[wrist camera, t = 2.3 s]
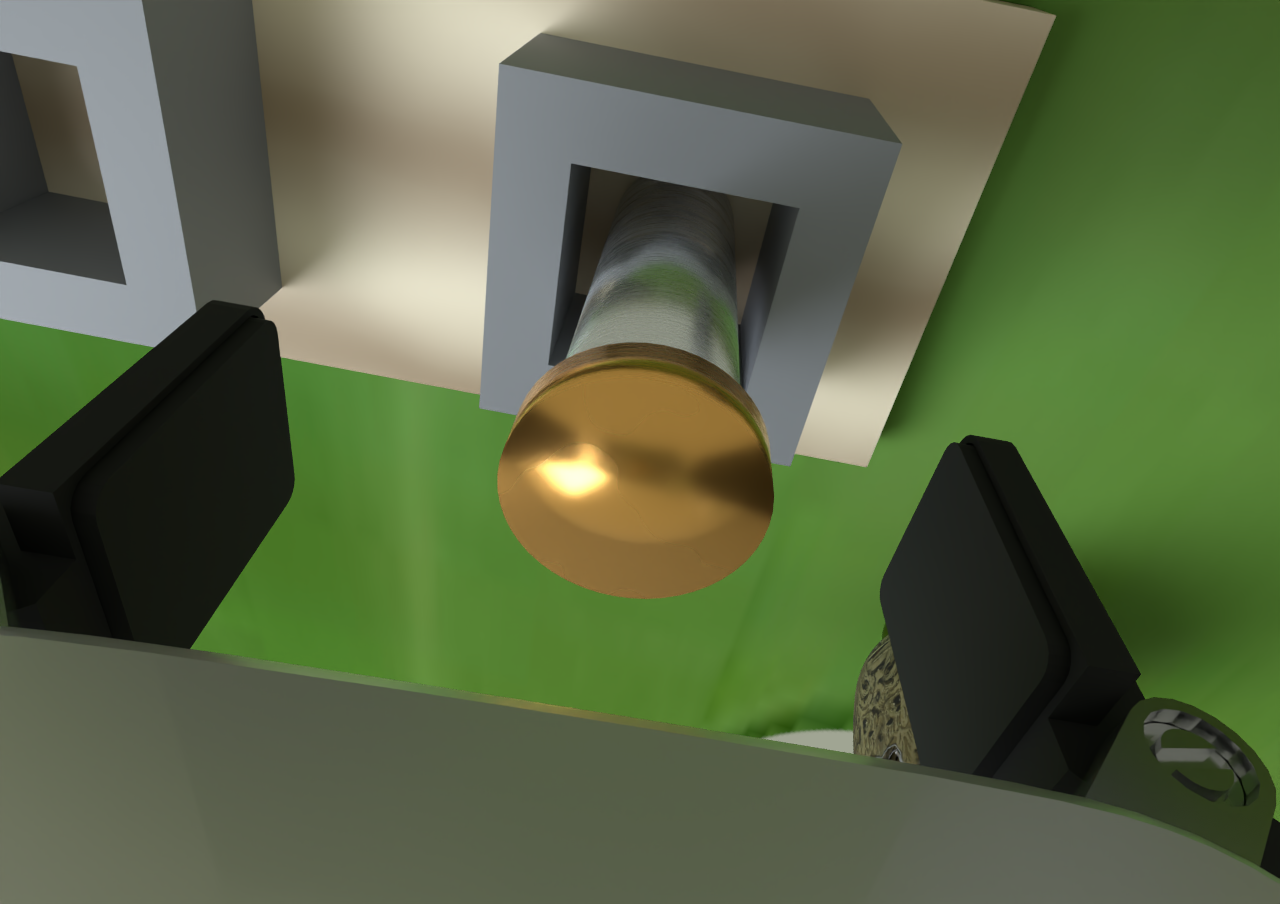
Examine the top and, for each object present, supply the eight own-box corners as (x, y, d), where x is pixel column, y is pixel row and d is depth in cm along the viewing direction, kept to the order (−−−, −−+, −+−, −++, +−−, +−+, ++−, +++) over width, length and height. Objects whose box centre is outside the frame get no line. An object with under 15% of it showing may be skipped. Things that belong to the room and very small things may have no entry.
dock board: (859, 438, 25) (866, 467, 23) (-41, 269, 24) (-82, 288, 23) (1033, 7, 18) (1056, 15, 17) (-226, -251, 17) (-300, -263, 16)
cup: (939, 709, 32) (996, 919, 25) (787, 637, 30) (805, 841, 24) (1086, 598, 28) (1198, 815, 21) (919, 509, 26) (985, 713, 20)
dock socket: (281, 287, 22) (204, 356, 18) (8, 235, 22) (-120, 295, 18) (249, -27, 17) (140, -8, 14) (-95, -95, 17) (-286, -93, 14)
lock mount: (780, 382, 22) (790, 466, 19) (515, 332, 22) (479, 407, 19) (869, 98, 18) (902, 144, 15) (540, 32, 18) (499, 63, 14)
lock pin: (730, 310, 21) (736, 617, 12) (589, 283, 21) (489, 572, 12) (767, 165, 19) (809, 410, 10) (610, 134, 19) (507, 353, 10)
